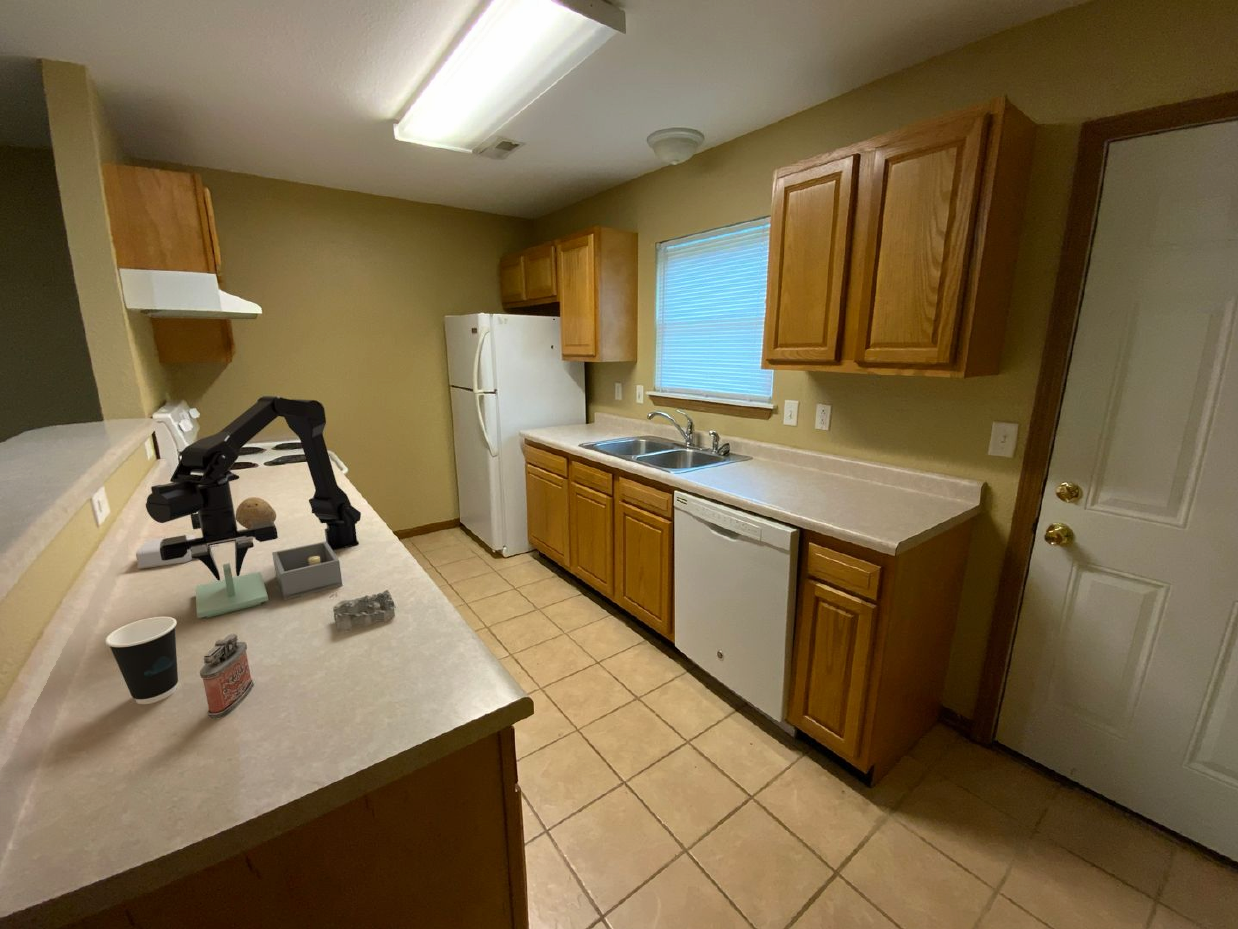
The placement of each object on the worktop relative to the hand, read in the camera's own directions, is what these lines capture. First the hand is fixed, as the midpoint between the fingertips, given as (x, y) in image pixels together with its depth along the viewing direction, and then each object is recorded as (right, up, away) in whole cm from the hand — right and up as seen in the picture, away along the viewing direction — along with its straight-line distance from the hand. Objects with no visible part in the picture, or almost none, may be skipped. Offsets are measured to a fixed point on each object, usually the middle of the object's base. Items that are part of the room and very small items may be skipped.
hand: (228, 577), depth 107 cm
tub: (+11, -3, +10) cm, 15 cm away
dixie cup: (+10, -12, -27) cm, 31 cm away
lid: (0, -5, +1) cm, 5 cm away
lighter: (+22, -13, -29) cm, 38 cm away
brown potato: (-21, +4, +39) cm, 45 cm away
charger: (-27, 0, +22) cm, 35 cm away
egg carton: (+31, -7, -5) cm, 32 cm away
